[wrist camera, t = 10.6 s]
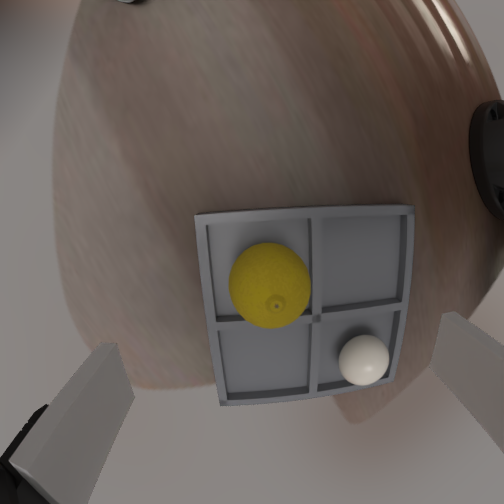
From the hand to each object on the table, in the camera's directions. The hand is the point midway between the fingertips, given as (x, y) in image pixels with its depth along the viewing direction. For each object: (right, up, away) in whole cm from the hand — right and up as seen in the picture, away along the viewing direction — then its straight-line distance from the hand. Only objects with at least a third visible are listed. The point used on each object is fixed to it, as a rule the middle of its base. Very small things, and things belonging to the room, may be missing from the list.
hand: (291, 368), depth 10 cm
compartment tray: (+4, -1, +15) cm, 16 cm away
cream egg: (+9, -5, +15) cm, 18 cm away
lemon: (0, +3, +14) cm, 14 cm away
